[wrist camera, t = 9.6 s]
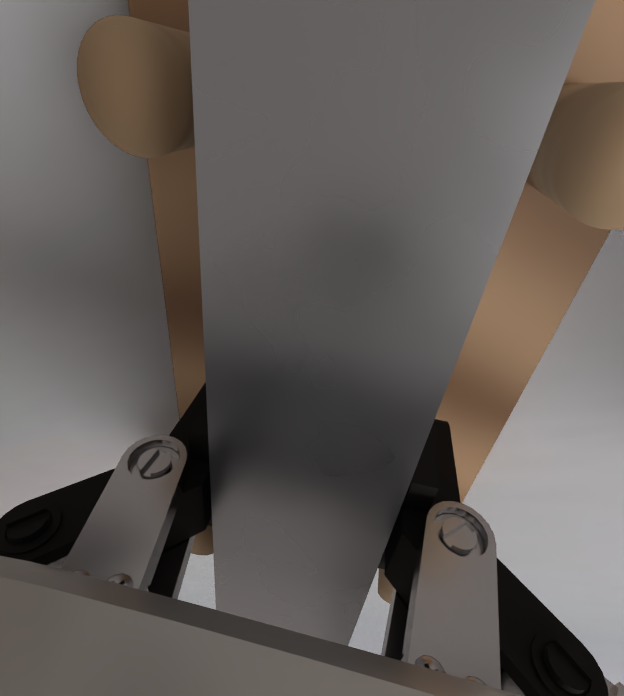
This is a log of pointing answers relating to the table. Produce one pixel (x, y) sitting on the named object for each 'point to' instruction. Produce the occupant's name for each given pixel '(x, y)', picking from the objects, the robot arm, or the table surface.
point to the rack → (511, 263)
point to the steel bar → (347, 262)
